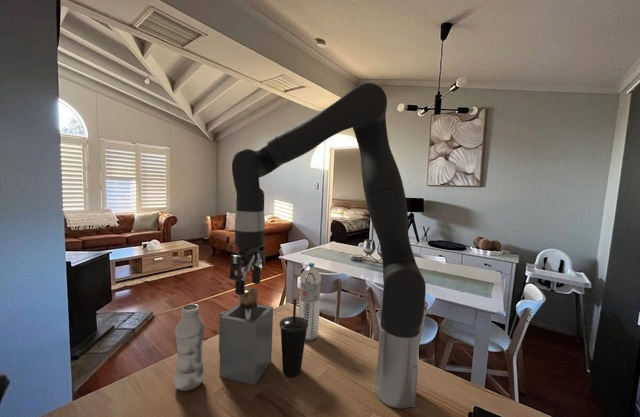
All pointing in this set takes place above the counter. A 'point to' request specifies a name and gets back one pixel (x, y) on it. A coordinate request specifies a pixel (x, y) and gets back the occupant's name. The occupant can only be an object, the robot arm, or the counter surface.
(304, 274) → the water bottle
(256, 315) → the box
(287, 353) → the drinking cup
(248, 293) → the plunger
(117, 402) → the counter surface
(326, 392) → the counter surface
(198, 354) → the plastic bottle
